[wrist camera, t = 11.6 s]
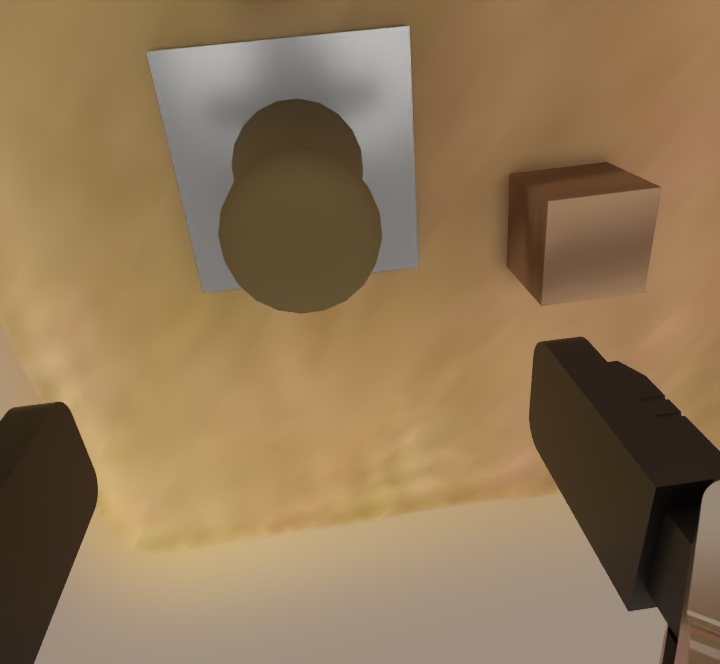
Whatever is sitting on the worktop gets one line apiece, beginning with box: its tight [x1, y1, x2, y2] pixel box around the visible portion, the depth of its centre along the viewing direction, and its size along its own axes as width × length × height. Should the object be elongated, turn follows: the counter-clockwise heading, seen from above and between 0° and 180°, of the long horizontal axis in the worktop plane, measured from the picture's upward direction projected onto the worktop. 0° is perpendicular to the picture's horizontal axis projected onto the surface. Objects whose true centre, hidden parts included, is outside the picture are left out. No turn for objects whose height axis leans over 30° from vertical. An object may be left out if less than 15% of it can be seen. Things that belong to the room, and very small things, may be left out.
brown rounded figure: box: [218, 98, 382, 313], centre depth 22 cm, size 6×6×11 cm
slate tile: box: [146, 26, 419, 293], centre depth 27 cm, size 11×11×1 cm
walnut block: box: [507, 162, 661, 306], centre depth 28 cm, size 5×5×5 cm
